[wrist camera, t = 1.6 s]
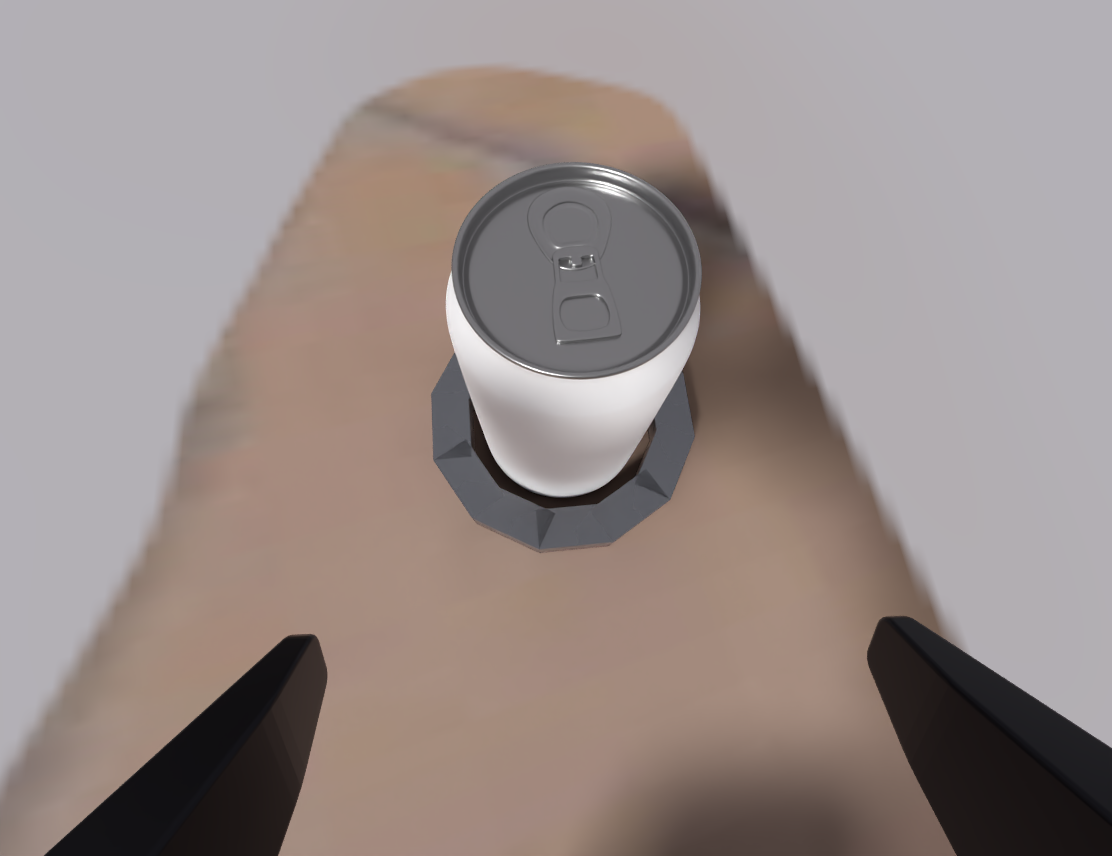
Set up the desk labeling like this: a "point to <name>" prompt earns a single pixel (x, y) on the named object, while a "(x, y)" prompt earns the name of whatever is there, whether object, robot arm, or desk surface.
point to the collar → (566, 523)
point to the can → (571, 319)
